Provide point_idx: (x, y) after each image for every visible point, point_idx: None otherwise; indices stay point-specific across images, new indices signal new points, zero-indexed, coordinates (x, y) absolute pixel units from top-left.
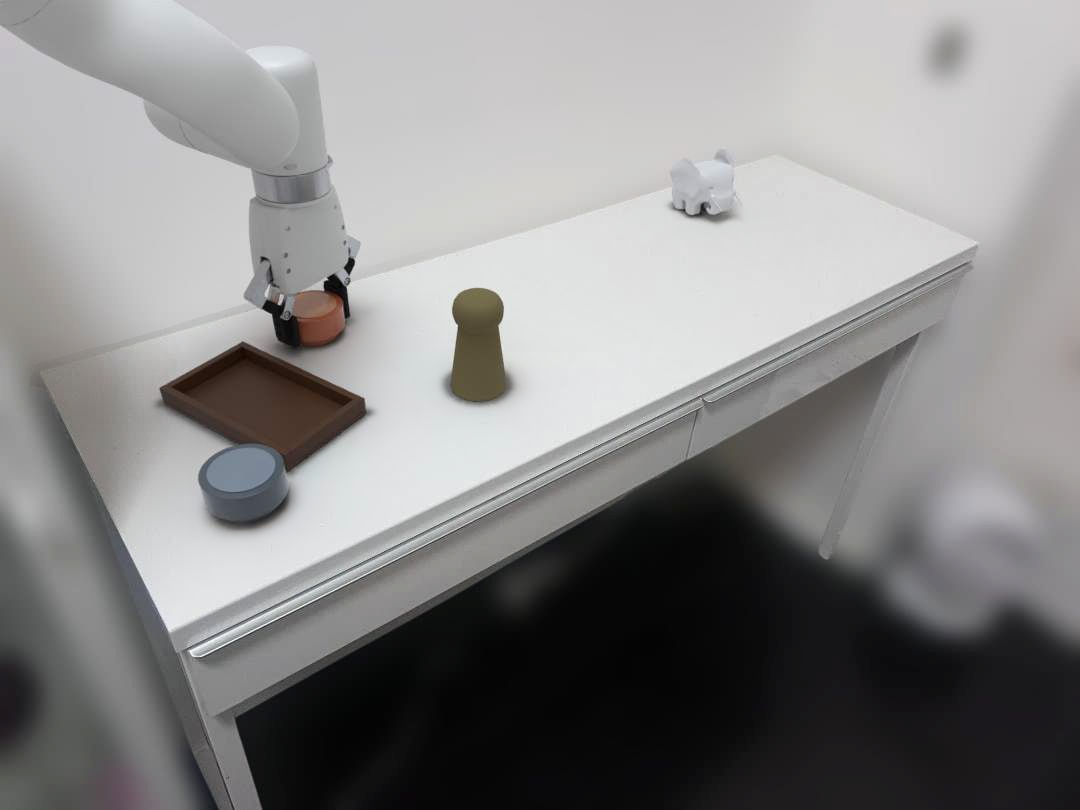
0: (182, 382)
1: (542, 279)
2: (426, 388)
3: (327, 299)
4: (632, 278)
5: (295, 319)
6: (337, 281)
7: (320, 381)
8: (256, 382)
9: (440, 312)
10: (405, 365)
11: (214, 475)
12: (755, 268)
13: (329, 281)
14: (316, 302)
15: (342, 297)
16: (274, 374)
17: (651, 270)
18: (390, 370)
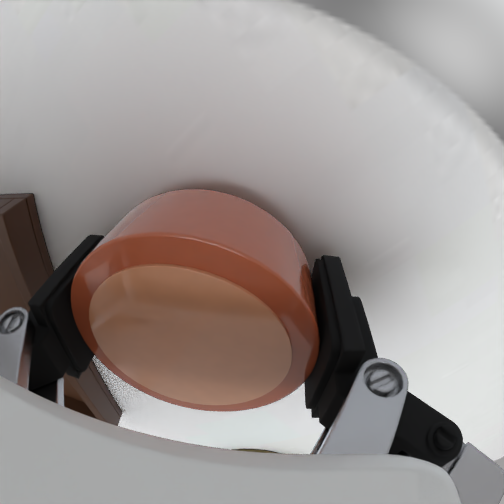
0: None
1: (499, 404)
2: (210, 440)
3: (253, 377)
4: (489, 432)
5: (79, 371)
6: (327, 422)
7: (82, 396)
8: (18, 289)
9: (414, 393)
10: (236, 421)
11: None
12: (492, 447)
13: (332, 391)
14: (209, 361)
15: (305, 388)
16: None
17: (500, 429)
18: (210, 414)
